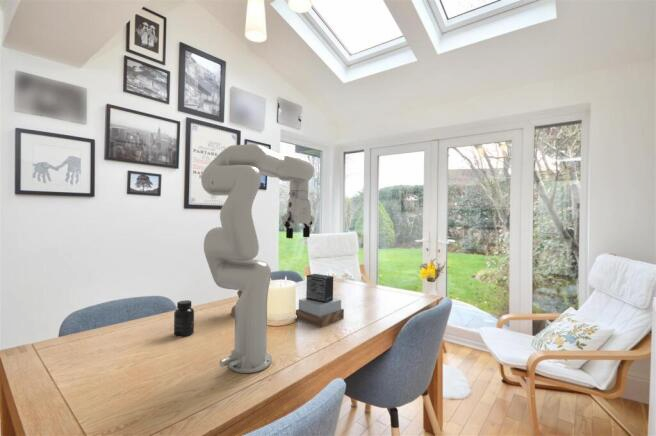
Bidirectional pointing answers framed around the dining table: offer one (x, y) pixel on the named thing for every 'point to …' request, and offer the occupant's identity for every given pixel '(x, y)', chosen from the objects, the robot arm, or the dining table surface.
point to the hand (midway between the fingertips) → (298, 237)
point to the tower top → (319, 306)
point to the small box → (319, 288)
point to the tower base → (319, 320)
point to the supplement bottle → (184, 319)
